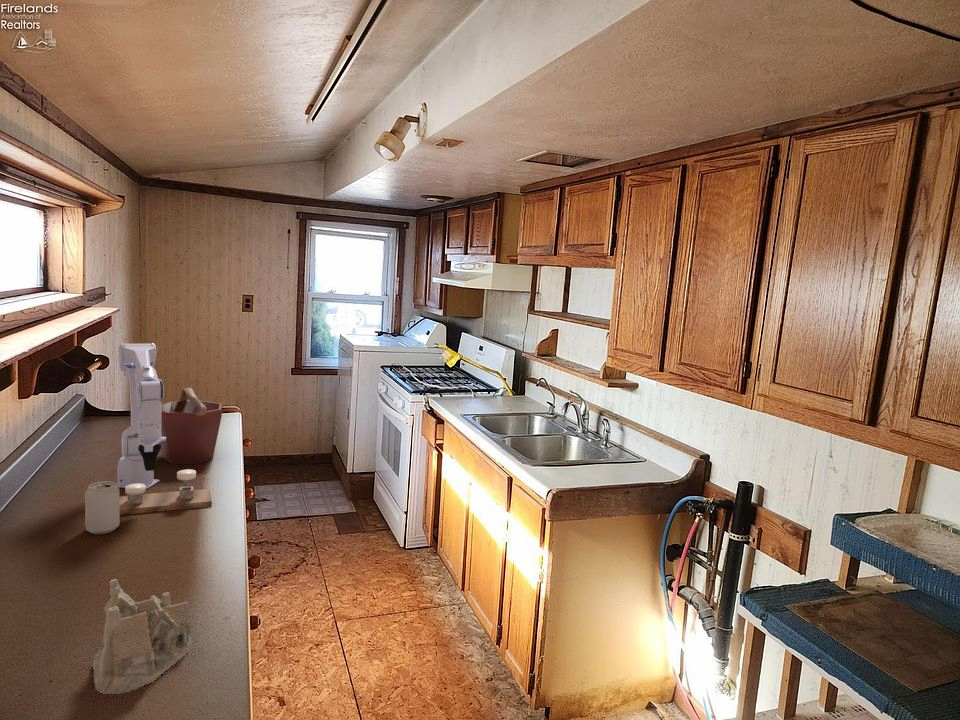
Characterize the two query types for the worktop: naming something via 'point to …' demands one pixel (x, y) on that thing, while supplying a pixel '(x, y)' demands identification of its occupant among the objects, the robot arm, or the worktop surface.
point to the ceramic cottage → (139, 640)
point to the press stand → (165, 501)
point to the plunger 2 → (186, 476)
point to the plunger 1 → (135, 489)
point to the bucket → (189, 429)
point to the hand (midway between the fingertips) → (150, 469)
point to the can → (102, 507)
